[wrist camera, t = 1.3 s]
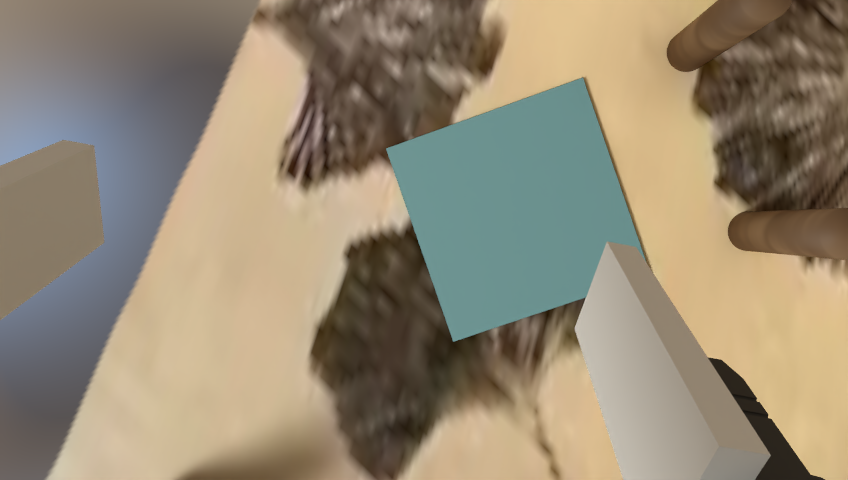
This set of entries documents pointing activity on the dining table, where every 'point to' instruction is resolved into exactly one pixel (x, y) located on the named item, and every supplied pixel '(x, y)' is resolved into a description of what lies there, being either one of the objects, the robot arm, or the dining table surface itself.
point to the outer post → (721, 30)
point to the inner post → (793, 232)
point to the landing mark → (513, 207)
